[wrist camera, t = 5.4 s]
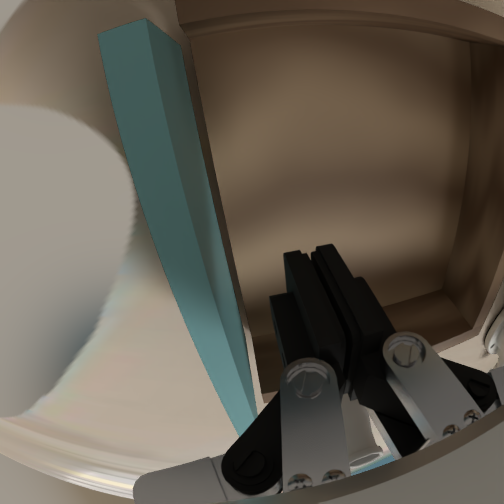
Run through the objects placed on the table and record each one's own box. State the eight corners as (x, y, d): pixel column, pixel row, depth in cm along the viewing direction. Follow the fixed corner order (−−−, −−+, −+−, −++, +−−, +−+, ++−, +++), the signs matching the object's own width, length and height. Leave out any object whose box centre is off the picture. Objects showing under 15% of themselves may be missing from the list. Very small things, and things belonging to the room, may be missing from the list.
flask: (271, 366, 25) (295, 476, 17) (344, 319, 23) (393, 432, 15) (315, 390, 29) (341, 479, 20) (378, 353, 27) (419, 443, 18)
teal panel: (245, 336, 20) (261, 440, 14) (230, 339, 20) (242, 443, 14) (180, 45, 11) (145, 18, 4) (157, 51, 11) (97, 33, 4)
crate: (440, 284, 23) (478, 335, 18) (251, 332, 22) (264, 403, 17) (464, 26, 11) (538, 34, 6) (187, 20, 11) (173, -11, 6)
